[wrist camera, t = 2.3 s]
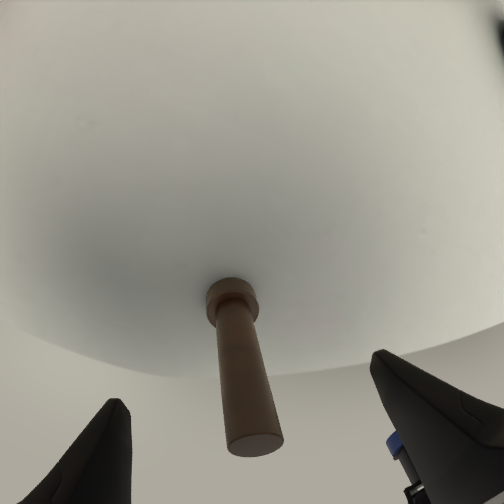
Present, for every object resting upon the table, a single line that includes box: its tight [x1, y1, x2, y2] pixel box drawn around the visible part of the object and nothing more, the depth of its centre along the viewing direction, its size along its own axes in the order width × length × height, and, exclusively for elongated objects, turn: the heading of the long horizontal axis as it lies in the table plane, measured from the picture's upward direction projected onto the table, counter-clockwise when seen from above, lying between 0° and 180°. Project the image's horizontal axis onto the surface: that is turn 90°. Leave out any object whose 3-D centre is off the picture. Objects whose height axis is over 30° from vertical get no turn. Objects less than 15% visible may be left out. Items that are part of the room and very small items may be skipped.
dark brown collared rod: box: [206, 278, 284, 457], centre depth 10 cm, size 2×2×8 cm
